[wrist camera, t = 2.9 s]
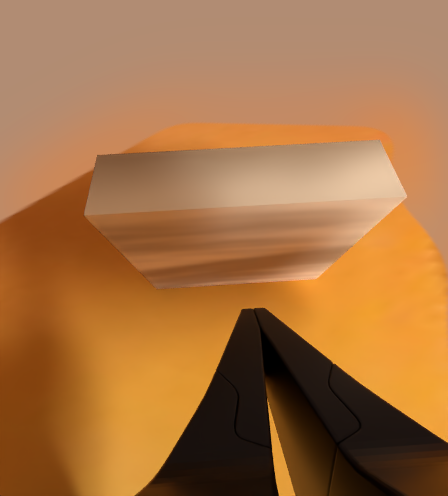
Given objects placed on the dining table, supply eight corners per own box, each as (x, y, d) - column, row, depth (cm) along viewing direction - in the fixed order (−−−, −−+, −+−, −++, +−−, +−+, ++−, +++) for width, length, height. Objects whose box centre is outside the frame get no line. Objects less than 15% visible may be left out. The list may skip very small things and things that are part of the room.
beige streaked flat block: (315, 279, 18) (407, 196, 9) (156, 289, 18) (83, 215, 9) (307, 243, 19) (379, 139, 10) (159, 252, 19) (97, 155, 10)
